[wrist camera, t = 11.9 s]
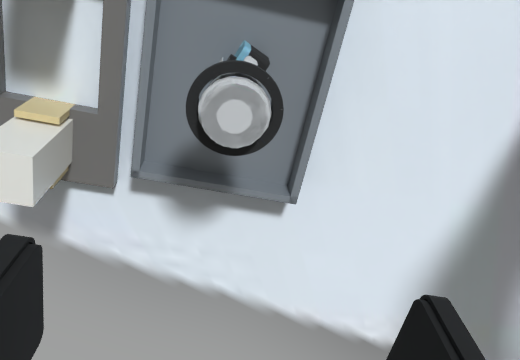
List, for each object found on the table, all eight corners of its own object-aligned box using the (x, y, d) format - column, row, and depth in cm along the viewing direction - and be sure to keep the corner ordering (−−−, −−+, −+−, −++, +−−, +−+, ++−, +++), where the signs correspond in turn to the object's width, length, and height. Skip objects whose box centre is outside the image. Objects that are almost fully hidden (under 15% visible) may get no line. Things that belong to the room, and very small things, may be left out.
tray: (348, -12, 30) (356, -10, 28) (292, 189, 37) (295, 204, 35) (158, -57, 28) (152, -58, 26) (137, 163, 35) (130, 176, 33)
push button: (236, 135, 34) (235, 197, 25) (176, 97, 32) (152, 149, 23) (287, 64, 32) (305, 103, 23) (225, 19, 30) (219, 43, 21)
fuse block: (139, -116, 27) (102, -146, 20) (117, 181, 36) (85, 237, 29) (-32, -160, 26) (-142, -209, 18) (-11, 160, 35) (-79, 213, 27)
